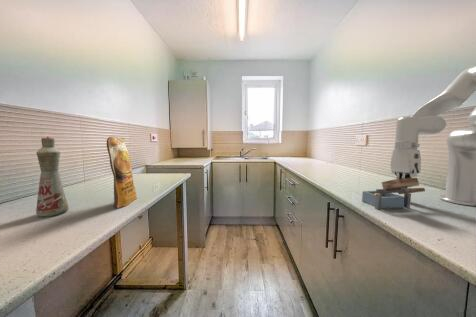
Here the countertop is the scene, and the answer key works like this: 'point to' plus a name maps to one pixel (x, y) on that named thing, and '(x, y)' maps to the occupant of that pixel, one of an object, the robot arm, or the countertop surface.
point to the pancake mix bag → (121, 172)
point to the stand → (379, 199)
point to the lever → (400, 186)
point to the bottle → (50, 181)
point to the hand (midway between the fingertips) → (402, 188)
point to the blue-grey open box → (384, 199)
